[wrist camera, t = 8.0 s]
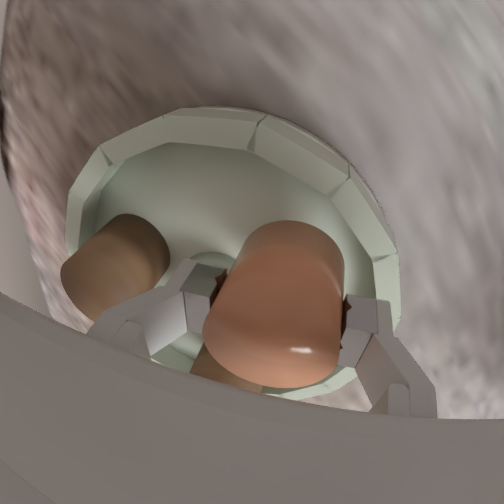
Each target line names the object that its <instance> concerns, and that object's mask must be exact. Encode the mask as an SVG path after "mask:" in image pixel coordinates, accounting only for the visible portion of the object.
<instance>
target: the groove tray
mask: <svg viewBox="0 0 504 504" xmlns="http://www.w3.org/2000/svg"><path fill="white" fill-rule="evenodd" d="M120 214H133V215H137V216H139V217H142V218H144V219H145V220H147V221H148V222H150V223H151V224H152V225H153V226H154V227H155V228H156V229H157V230H158V231H159V232H160V233H161V235H162V236H163V237H164V239H165V241H166V243H167V245H168V248H169V252H170V264H169V267H168V269H167V271H166V272H165V273H164V275H163V276H162V278H161V279H160V280H159V282H158V283H157V284H156V286H155V287H154V288H156V287H158V286H165V285H166V283H167V282H168V280H169V279H170V277H171V276H172V275H173V273H174V272H175V270H176V269H177V268H178V266H179V265H180V263H181V262H182V261H183V260H184V259H186V258H188V259H192V260H196V261H201V262H205V263H209V264H213V265H217V266H221V267H225V268H227V270H228V273H229V271H230V269H231V267H232V266H233V264H234V262H235V260H236V258H237V256H238V254H239V252H240V250H241V248H242V246H243V244H244V242H245V240H246V239H247V237H248V236H249V235H250V234H251V233H252V232H253V231H255V230H256V229H257V228H259V227H261V226H263V225H265V224H268V223H270V222H275V221H281V220H293V221H300V222H304V223H307V224H310V225H313V226H315V227H317V228H319V229H320V230H322V231H323V232H325V233H326V234H327V235H329V236H330V237H331V238H332V239H333V240H334V242H335V243H336V244H337V245H338V247H339V249H340V251H341V253H342V255H343V259H344V264H345V276H344V298H345V295H346V294H353V295H358V296H363V297H368V298H373V299H381V300H387V301H389V302H390V305H391V314H392V324H393V332H394V330H395V328H396V326H397V324H398V322H399V321H400V318H401V302H400V276H399V259H398V251H397V246H396V242H395V238H394V233H393V230H392V229H391V227H390V225H389V224H388V222H387V221H386V219H385V216H384V213H383V210H382V208H381V207H380V205H379V203H378V201H377V199H376V197H375V195H374V194H373V192H372V190H371V188H370V187H369V186H368V184H367V183H366V182H365V180H364V179H363V178H362V177H361V175H360V174H359V173H358V171H357V170H356V169H355V168H354V167H353V166H352V165H351V164H350V163H349V162H348V161H347V160H346V159H345V158H344V157H343V156H342V155H341V154H340V153H339V152H338V151H337V150H336V149H334V148H333V147H332V146H330V145H329V144H327V143H326V142H325V141H323V140H322V139H320V138H319V137H317V136H316V135H315V134H313V133H312V132H310V131H308V130H306V129H304V128H302V127H300V126H298V125H296V124H294V123H292V122H290V121H288V120H286V119H283V118H280V117H277V116H274V115H271V114H268V113H265V112H261V111H258V110H252V109H246V108H240V107H234V106H201V107H195V108H179V109H177V110H174V111H172V112H169V113H167V114H164V115H162V116H160V117H157V118H155V119H153V120H150V121H148V122H146V123H144V124H141V125H139V126H137V127H135V128H133V129H130V130H128V131H126V132H124V133H122V134H120V135H118V136H116V137H114V138H112V139H110V140H108V141H106V142H104V143H102V144H100V145H99V146H98V147H97V148H96V150H95V151H94V153H93V154H92V156H91V157H90V159H89V160H88V162H87V163H86V165H85V166H84V168H83V169H82V171H81V172H80V174H79V176H78V177H77V179H76V180H75V182H74V184H73V185H72V187H71V189H70V190H69V193H68V203H67V214H66V228H65V244H66V247H67V251H68V254H69V257H71V256H72V255H73V254H74V253H75V252H76V251H77V250H78V249H79V248H80V247H81V246H82V245H84V244H85V243H86V242H87V241H88V240H89V239H90V238H91V237H92V236H93V235H94V234H96V233H97V232H98V231H99V230H100V229H101V228H102V227H103V226H105V225H106V224H107V223H108V222H109V221H110V220H111V219H112V218H114V217H115V216H117V215H120ZM344 298H343V300H344ZM203 342H204V340H203V335H202V334H200V333H196V332H192V331H188V330H187V332H186V333H184V334H183V335H181V336H180V337H178V338H177V339H175V340H174V341H172V342H171V343H169V344H168V345H167V346H165V347H164V348H162V349H160V350H159V351H157V352H156V353H154V354H153V355H151V356H150V357H151V360H152V361H154V362H157V363H160V364H163V365H166V366H169V367H172V368H175V369H178V370H181V371H184V372H187V373H189V372H190V370H191V368H192V365H193V363H194V361H195V359H196V357H197V355H198V353H199V351H200V348H201V346H202V344H203ZM357 376H358V375H357V373H356V371H355V368H350V367H345V366H340V365H336V367H335V369H334V370H333V371H332V372H331V373H330V374H329V375H328V376H327V377H326V378H324V379H322V380H321V381H319V382H316V383H314V384H311V385H308V386H303V387H297V388H276V387H268V386H263V387H262V390H261V393H263V394H267V395H272V396H276V397H281V398H285V399H290V400H295V401H296V400H300V399H305V398H309V397H313V396H318V395H322V394H326V393H329V392H333V391H336V390H337V389H339V388H340V387H342V386H343V385H345V384H346V383H348V382H349V381H351V380H353V379H354V378H356V377H357Z"/></svg>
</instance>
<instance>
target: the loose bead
mask: <svg viewBox="0 0 504 504" xmlns="http://www.w3.org/2000/svg"><path fill="white" fill-rule="evenodd" d="M344 276H345V264H344V259H343V255H342V253H341V251H340V249H339V247H338V245H337V244H336V243H335V242H334V240H333V239H332V238H331V237H330V236H329V235H327V234H326V233H325V232H323V231H322V230H320V229H319V228H317V227H315V226H313V225H310V224H307V223H304V222H300V221H293V220H281V221H275V222H270V223H268V224H265V225H263V226H261V227H259V228H257V229H256V230H255V231H253V232H252V233H251V234H250V235H249V236H248V237H247V239H246V240H245V242H244V244H243V246H242V248H241V250H240V252H239V254H238V256H237V258H236V260H235V262H234V264H233V266H232V267H231V269H230V271H229V273H228V275H227V277H226V279H225V281H224V283H223V285H222V287H221V289H220V291H219V293H218V295H217V297H216V299H215V301H214V303H213V305H212V307H211V309H210V311H209V313H208V315H207V317H206V319H205V321H204V324H203V328H202V335H203V340H204V343H205V346H206V347H207V349H208V351H209V352H210V354H211V355H212V356H213V358H214V359H215V360H216V361H217V362H218V363H219V364H220V365H221V366H223V367H224V368H225V369H227V370H228V371H230V372H231V373H233V374H235V375H237V376H238V377H240V378H243V379H245V380H247V381H250V382H253V383H256V384H259V385H263V386H268V387H276V388H297V387H303V386H308V385H311V384H314V383H316V382H319V381H321V380H322V379H324V378H326V377H327V376H328V375H329V374H330V373H331V372H332V371H333V370H334V369H335V367H336V365H337V363H338V360H339V353H340V342H341V329H342V315H343V298H344Z"/></svg>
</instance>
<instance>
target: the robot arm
mask: <svg viewBox="0 0 504 504" xmlns="http://www.w3.org/2000/svg"><path fill="white" fill-rule="evenodd" d="M227 275H228V270H227V268H225V267H221V266H217V265H213V264H209V263H205V262H201V261H196V260H192V259H188V258H186V259H184V260H183V261H182V262H181V263H180V265H179V266H178V268H177V269H176V270H175V272H174V273H173V275H172V276H171V277H170V279H169V280H168V282H167V283H166V285H165V286H158V287H156V288H154V289H152V290H149V291H147V292H145V293H143V294H140V295H138V296H136V297H134V298H131V299H129V300H127V301H125V302H122V303H120V304H118V305H116V306H113V307H111V308H109V309H107V310H104V311H103V313H102V314H101V315H100V316H99V318H98V319H97V320H96V322H95V323H94V324H93V325H92V327H91V328H90V329H89V331H88V332H87V333H86V335H85V334H83V333H81V332H79V331H76V330H74V329H72V328H70V327H68V326H65V325H63V324H61V323H59V322H57V321H55V320H53V319H51V318H48V317H47V316H44V315H43V314H41V313H39V312H37V311H35V310H33V309H31V308H29V307H27V306H25V305H23V304H21V303H19V302H17V301H16V300H14V299H12V298H10V297H8V296H7V295H5V294H3V293H1V292H0V504H504V419H438V416H437V403H436V392H435V387H434V385H433V384H432V382H431V381H430V380H429V378H428V377H427V376H426V374H425V373H424V372H423V370H422V369H421V368H420V366H419V365H418V364H417V362H416V361H415V360H414V358H413V357H412V356H411V354H410V353H409V352H408V351H407V349H406V348H405V347H404V345H403V344H402V343H401V341H400V340H399V339H398V338H397V337H394V336H393V324H392V314H391V305H390V302H389V301H387V300H381V299H373V298H368V297H363V296H358V295H353V294H346V295H345V298H344V300H343V315H342V329H341V342H340V353H339V360H338V363H337V365H340V366H345V367H350V368H355V371H356V373H357V375H358V377H359V379H360V381H361V383H362V385H363V387H364V389H365V392H366V394H367V396H368V398H369V400H370V402H371V404H372V406H373V407H372V408H371V410H370V411H369V412H361V411H354V410H347V409H340V408H334V407H328V406H322V405H316V404H311V403H305V402H300V401H295V400H290V399H285V398H281V397H276V396H272V395H267V394H263V393H259V392H255V391H251V390H247V389H243V388H239V387H235V386H232V385H228V384H224V383H221V382H217V381H214V380H210V379H207V378H203V377H200V376H197V375H193V374H190V373H187V372H184V371H181V370H178V369H175V368H172V367H169V366H166V365H163V364H160V363H157V362H154V361H152V360H151V357H150V356H151V355H153V354H154V353H156V352H157V351H159V350H160V349H162V348H164V347H165V346H167V345H168V344H169V343H171V342H172V341H174V340H175V339H177V338H178V337H180V336H181V335H183V334H184V333H186V332H187V330H188V331H192V332H196V333H200V334H202V328H203V324H204V321H205V319H206V317H207V315H208V313H209V311H210V309H211V307H212V305H213V303H214V301H215V299H216V297H217V295H218V293H219V291H220V289H221V287H222V285H223V283H224V281H225V279H226V277H227Z"/></svg>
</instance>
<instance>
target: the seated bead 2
mask: <svg viewBox="0 0 504 504" xmlns="http://www.w3.org/2000/svg"><path fill="white" fill-rule="evenodd" d="M189 373H190V374H193V375H197V376H200V377H203V378H207V379H210V380H214V381H217V382H221V383H224V384H228V385H232V386H235V387H239V388H243V389H247V390H251V391H255V392H259V393H261V390H262V387H263V385H259V384H256V383H253V382H250V381H247V380H245V379H243V378H240V377H238V376H237V375H235V374H233V373H231V372H230V371H228V370H227V369H225V368H224V367H223V366H221V365H220V364H219V363H218V362H217V361H216V360H215V359H214V358H213V356H212V355H211V354H210V352H209V351H208V349H207V347H206V346H205V343H204V342H203V344H202V346H201V348H200V351H199V353H198V355H197V357H196V359H195V361H194V363H193V365H192V368H191V370H190V372H189Z"/></svg>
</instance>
